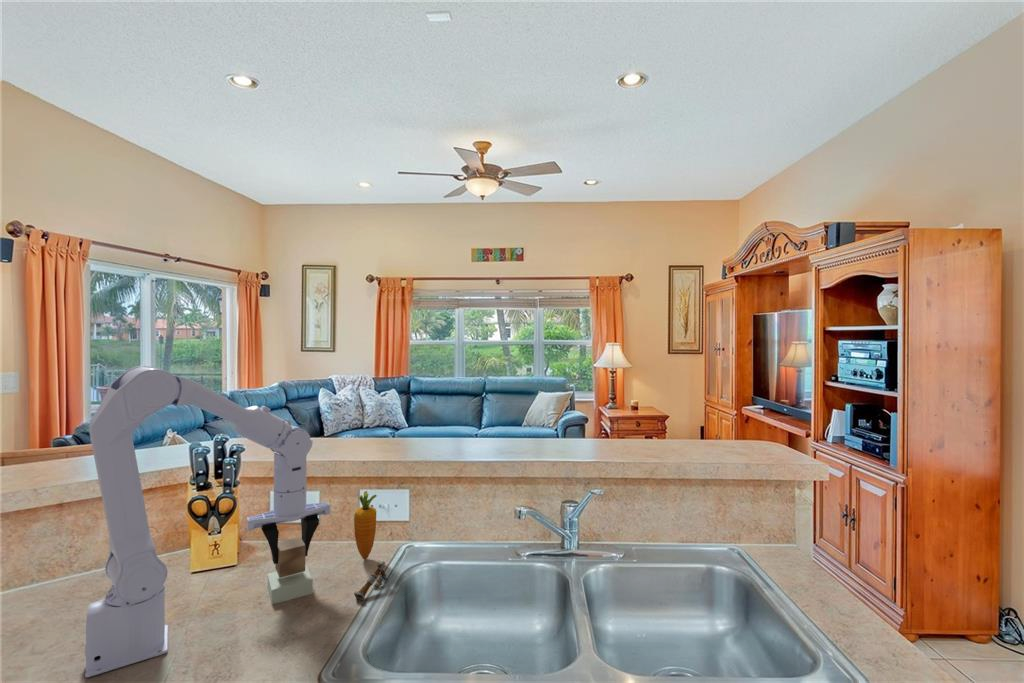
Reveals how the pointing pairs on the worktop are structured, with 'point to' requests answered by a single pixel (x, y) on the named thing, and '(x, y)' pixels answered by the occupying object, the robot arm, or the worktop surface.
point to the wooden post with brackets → (372, 581)
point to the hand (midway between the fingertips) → (290, 558)
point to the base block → (289, 586)
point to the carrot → (365, 526)
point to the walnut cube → (290, 557)
